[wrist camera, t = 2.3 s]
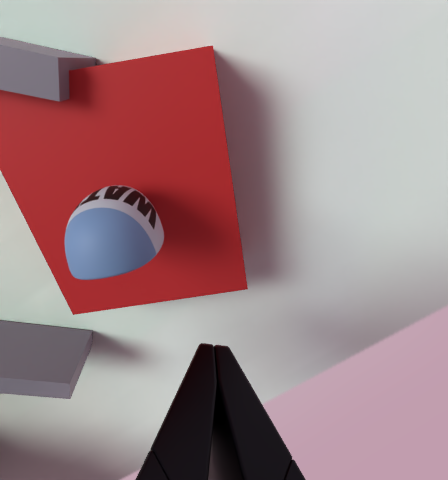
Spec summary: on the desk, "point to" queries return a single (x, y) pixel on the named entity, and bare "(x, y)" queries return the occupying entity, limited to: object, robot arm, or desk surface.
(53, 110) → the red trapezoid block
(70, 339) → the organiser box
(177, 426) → the robot arm
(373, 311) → the desk surface
